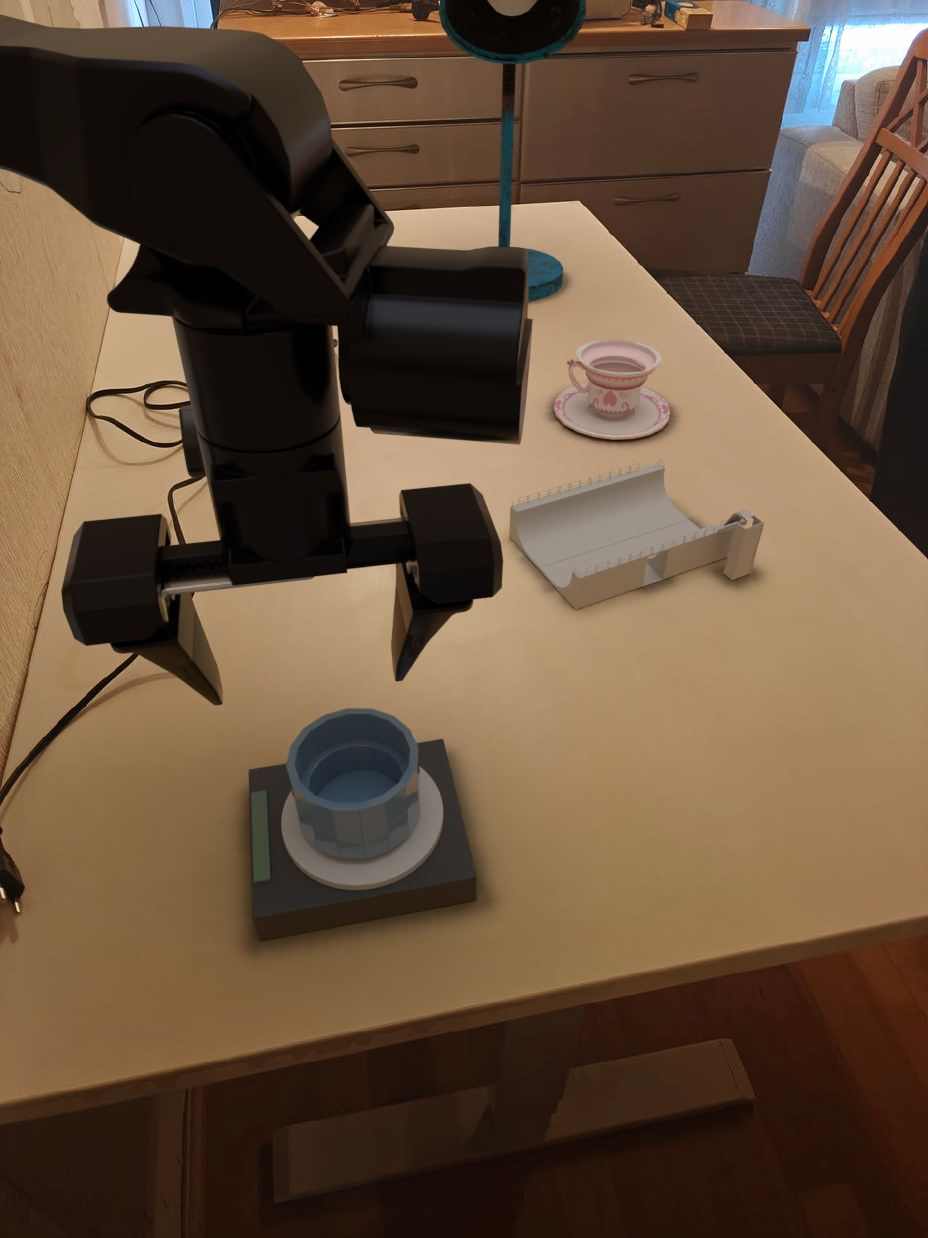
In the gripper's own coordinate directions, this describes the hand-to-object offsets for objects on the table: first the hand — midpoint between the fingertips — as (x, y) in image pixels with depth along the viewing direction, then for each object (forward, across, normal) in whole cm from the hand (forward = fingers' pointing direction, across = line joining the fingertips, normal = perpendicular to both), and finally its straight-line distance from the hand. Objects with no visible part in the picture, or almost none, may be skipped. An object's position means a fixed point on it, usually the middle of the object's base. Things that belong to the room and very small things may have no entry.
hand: (309, 686), depth 45 cm
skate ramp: (+12, -26, -21) cm, 36 cm away
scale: (+12, -2, +2) cm, 12 cm away
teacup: (+12, -33, -45) cm, 57 cm away
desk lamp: (+12, -30, -81) cm, 87 cm away
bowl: (+8, -2, +2) cm, 9 cm away
